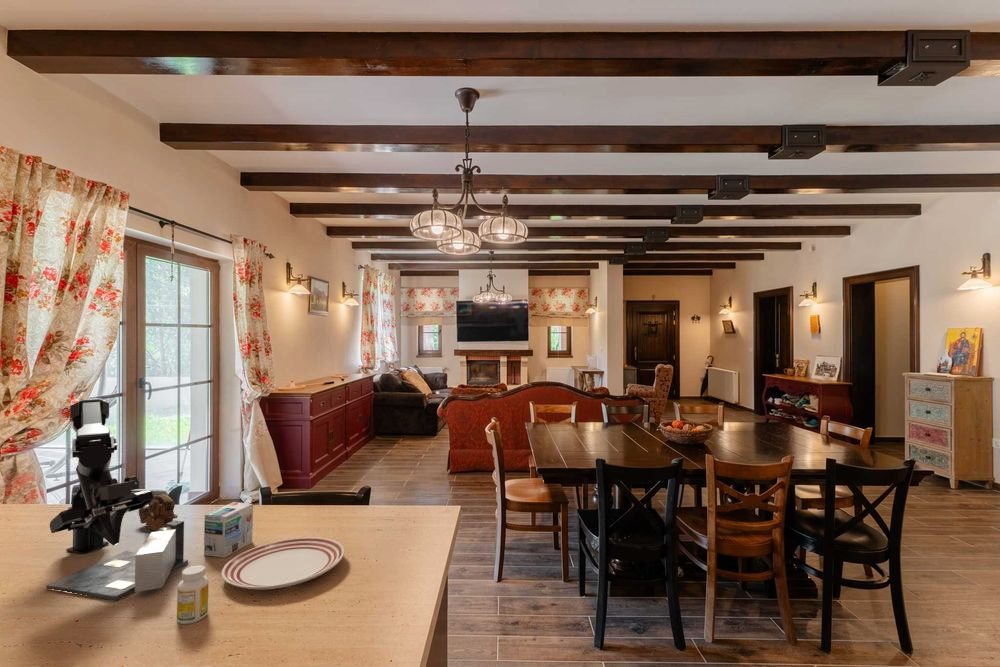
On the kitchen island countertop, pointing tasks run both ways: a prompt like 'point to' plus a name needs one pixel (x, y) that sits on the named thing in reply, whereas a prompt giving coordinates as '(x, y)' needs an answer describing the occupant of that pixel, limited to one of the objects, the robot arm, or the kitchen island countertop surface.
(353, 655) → the kitchen island countertop surface
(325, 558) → the dinner plate
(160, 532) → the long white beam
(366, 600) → the kitchen island countertop surface
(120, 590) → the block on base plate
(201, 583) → the supplement bottle
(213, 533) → the light bulb box
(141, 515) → the wooden carving
